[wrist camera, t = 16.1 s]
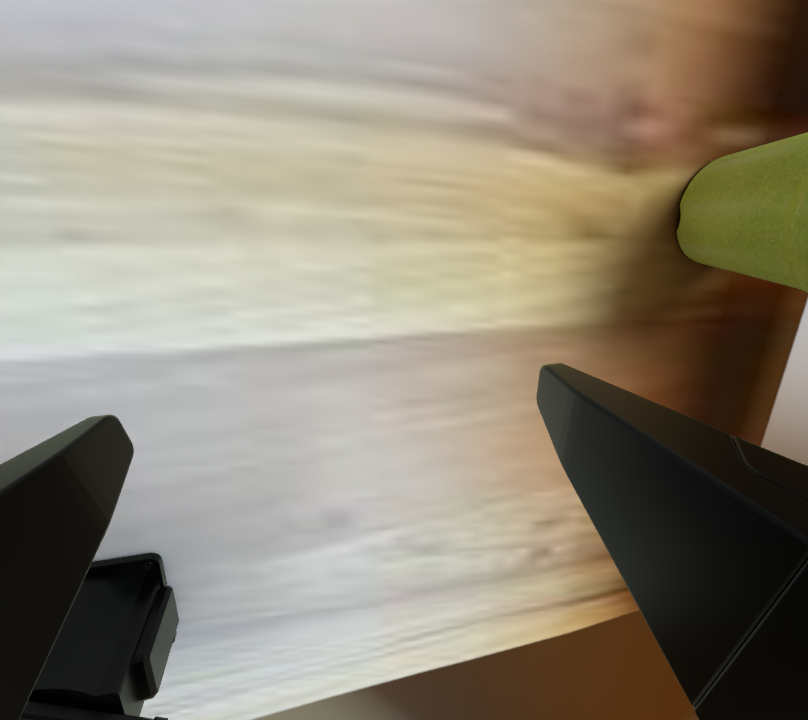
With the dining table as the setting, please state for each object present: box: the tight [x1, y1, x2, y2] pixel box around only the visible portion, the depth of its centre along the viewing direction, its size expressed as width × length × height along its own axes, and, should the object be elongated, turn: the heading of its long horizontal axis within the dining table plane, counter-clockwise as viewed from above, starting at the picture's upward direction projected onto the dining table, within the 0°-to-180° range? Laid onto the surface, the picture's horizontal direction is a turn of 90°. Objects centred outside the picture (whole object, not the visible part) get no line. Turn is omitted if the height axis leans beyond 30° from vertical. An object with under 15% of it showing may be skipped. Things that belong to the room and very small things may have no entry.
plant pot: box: [677, 132, 808, 293], centre depth 20 cm, size 9×9×9 cm
